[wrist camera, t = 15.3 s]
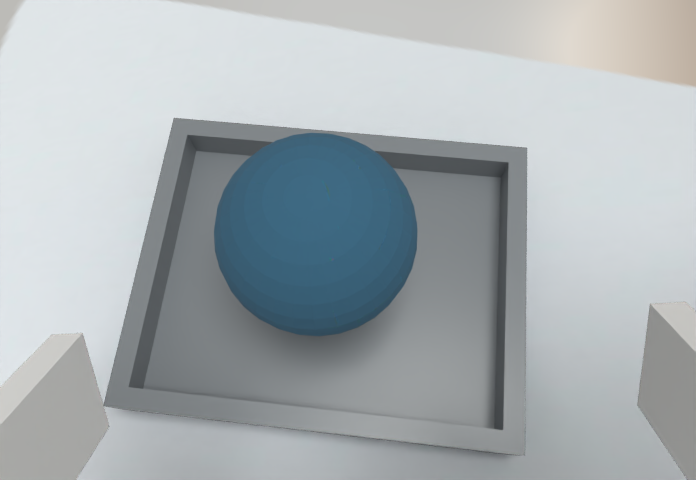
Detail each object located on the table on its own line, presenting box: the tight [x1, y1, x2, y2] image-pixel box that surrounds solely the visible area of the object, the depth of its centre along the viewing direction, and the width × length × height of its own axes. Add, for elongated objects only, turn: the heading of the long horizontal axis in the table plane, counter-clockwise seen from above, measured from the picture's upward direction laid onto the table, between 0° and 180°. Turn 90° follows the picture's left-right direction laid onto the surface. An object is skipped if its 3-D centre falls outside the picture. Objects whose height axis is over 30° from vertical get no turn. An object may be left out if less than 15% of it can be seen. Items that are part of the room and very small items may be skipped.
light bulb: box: [214, 133, 418, 336], centre depth 26 cm, size 8×8×12 cm
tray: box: [103, 118, 527, 455], centre depth 31 cm, size 20×16×2 cm
